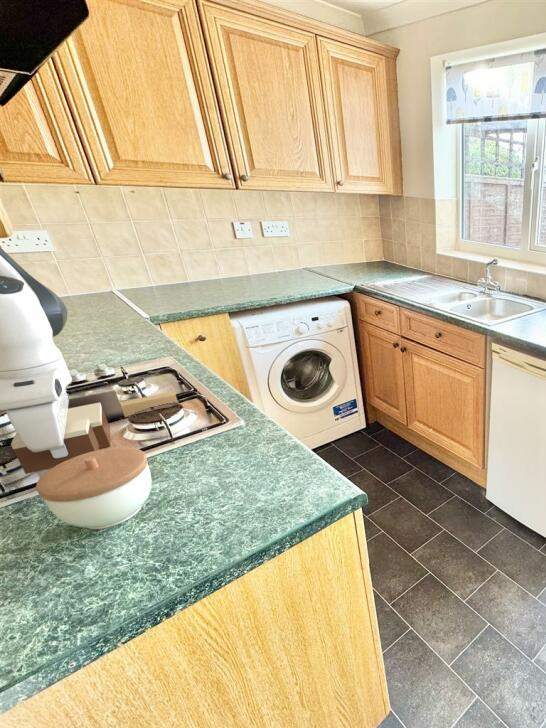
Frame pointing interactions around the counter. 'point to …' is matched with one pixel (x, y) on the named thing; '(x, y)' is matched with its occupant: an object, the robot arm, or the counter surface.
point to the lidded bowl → (97, 487)
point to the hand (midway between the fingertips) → (62, 447)
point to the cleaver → (121, 403)
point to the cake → (92, 421)
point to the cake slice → (75, 438)
